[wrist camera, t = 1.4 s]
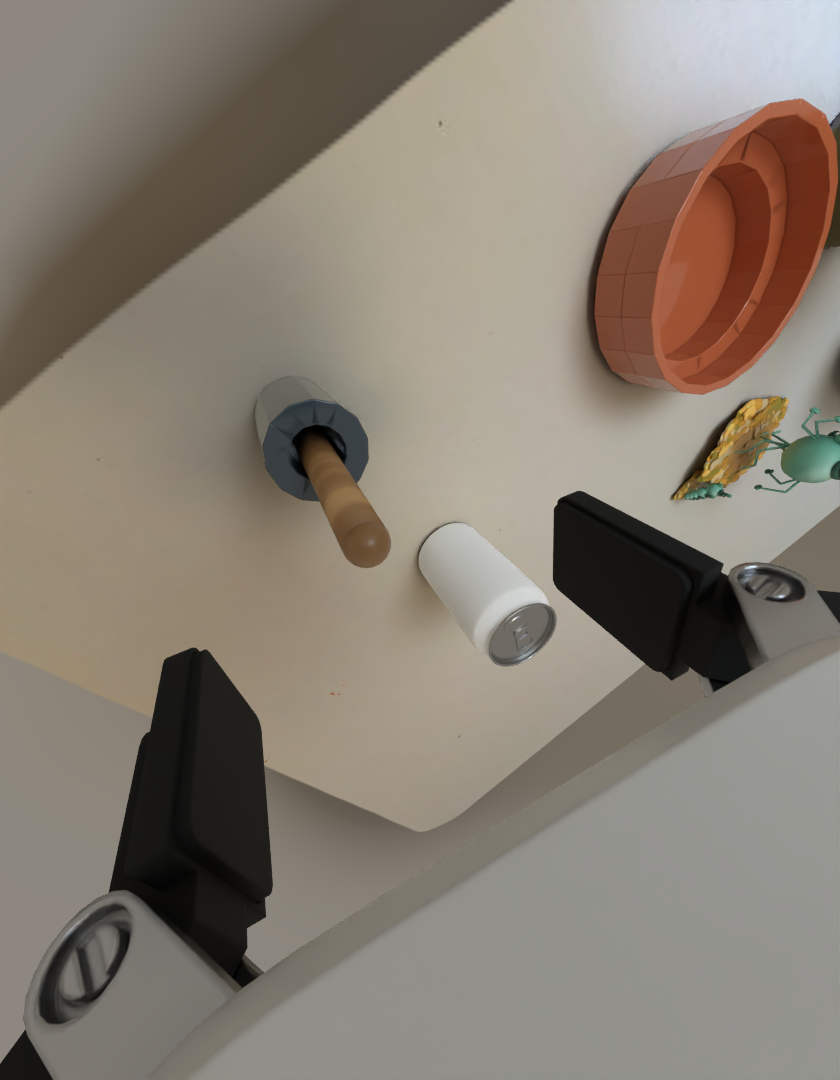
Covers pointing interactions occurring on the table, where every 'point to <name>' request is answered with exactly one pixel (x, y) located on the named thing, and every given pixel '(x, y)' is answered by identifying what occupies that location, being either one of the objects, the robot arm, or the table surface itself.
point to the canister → (836, 235)
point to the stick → (342, 501)
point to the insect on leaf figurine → (750, 441)
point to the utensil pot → (288, 413)
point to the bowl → (716, 248)
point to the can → (487, 595)
